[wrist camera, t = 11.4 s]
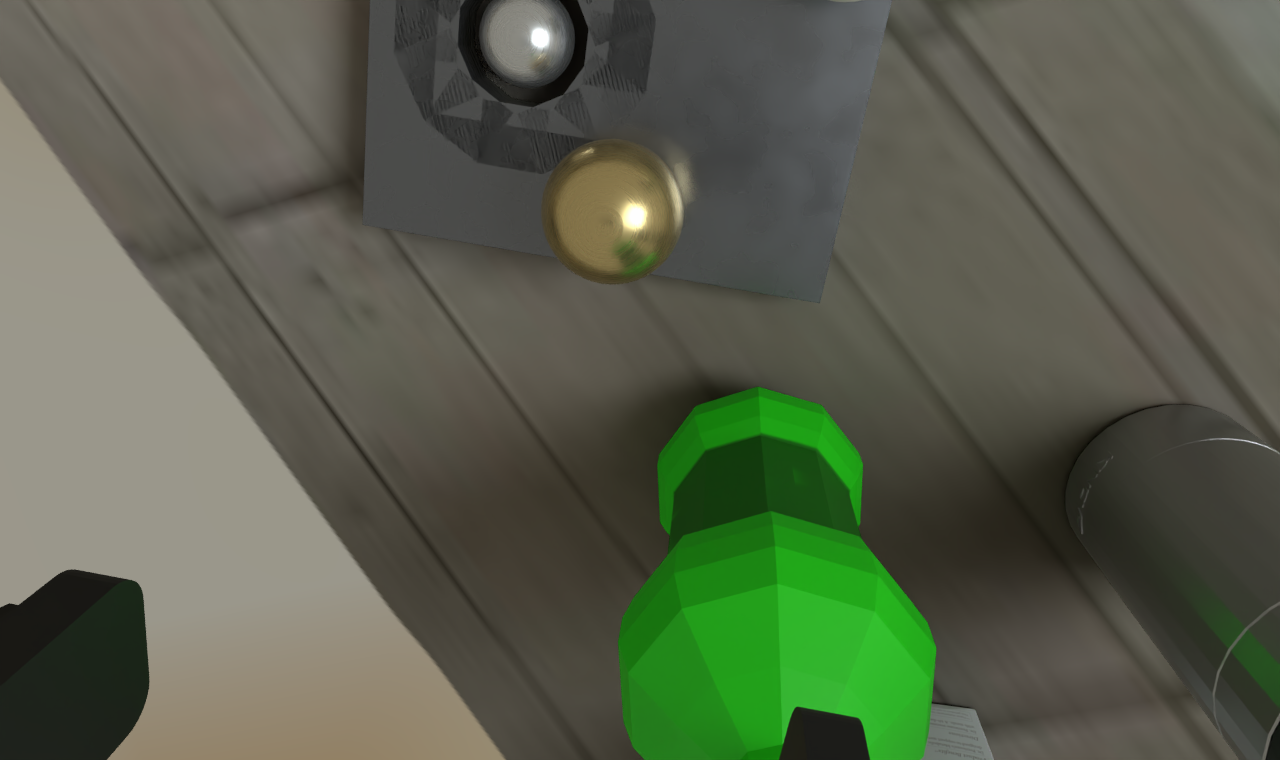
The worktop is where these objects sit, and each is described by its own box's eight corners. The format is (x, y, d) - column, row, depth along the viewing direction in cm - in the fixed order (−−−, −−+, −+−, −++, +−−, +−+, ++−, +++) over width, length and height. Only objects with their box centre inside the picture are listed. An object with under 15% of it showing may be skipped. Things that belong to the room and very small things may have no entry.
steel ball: (586, -5, 37) (573, -9, 33) (575, 91, 39) (561, 98, 35) (495, -20, 37) (472, -25, 33) (487, 77, 39) (465, 82, 35)
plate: (915, -144, 34) (929, -159, 32) (814, 289, 41) (819, 303, 38) (401, -225, 35) (378, -244, 32) (383, 215, 41) (362, 224, 39)
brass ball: (697, 144, 36) (692, 161, 31) (674, 276, 39) (666, 312, 33) (563, 122, 37) (535, 134, 31) (548, 254, 39) (519, 287, 33)
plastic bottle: (900, 428, 43) (1108, 875, 20) (773, 573, 47) (822, 1094, 23) (735, 318, 42) (750, 656, 18) (618, 476, 45) (507, 924, 22)
